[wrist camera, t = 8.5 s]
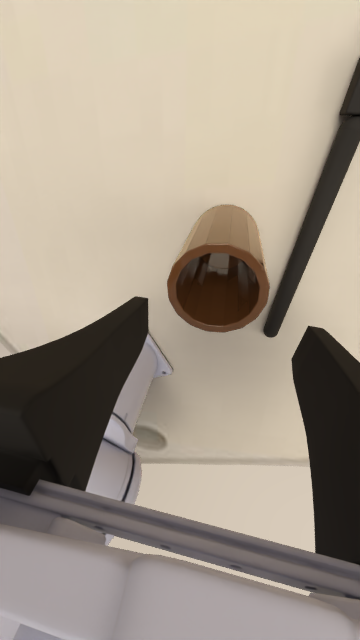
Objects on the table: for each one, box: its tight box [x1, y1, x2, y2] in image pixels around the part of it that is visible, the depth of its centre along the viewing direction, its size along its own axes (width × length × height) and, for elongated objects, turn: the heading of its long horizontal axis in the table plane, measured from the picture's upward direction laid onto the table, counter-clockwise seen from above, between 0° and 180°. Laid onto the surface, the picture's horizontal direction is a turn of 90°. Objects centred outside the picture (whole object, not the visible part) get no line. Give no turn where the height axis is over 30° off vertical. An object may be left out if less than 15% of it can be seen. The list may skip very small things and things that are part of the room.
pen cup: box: [167, 205, 270, 332], centre depth 15 cm, size 5×5×8 cm
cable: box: [264, 59, 360, 338], centre depth 16 cm, size 19×2×1 cm, turn 175°
